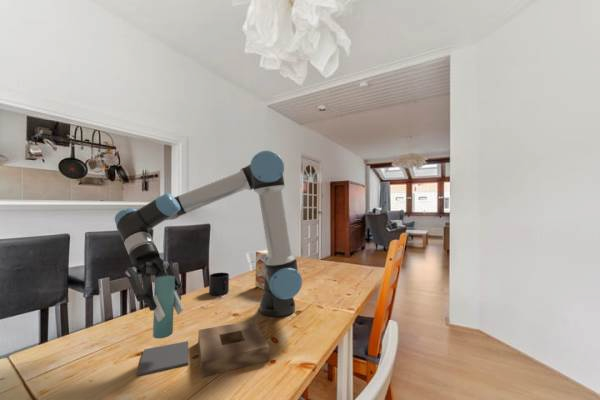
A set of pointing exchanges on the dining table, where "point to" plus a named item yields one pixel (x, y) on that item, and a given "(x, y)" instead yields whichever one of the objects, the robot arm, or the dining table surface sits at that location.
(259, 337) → the pocket block
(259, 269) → the coffeecake box
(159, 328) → the peg
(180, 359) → the mat
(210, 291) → the mug
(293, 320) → the dining table surface
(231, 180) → the robot arm
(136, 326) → the dining table surface
